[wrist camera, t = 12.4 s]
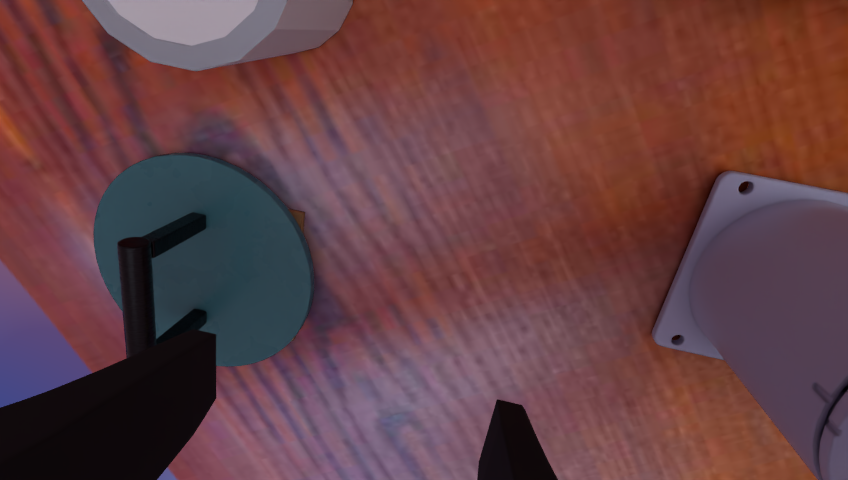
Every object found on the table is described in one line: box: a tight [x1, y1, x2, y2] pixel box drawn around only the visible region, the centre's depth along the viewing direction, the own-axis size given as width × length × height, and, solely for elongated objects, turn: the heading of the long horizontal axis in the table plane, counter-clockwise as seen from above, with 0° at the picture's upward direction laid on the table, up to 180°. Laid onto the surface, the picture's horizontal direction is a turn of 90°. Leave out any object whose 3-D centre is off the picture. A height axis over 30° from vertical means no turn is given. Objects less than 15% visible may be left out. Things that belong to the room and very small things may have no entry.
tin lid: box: [94, 153, 314, 367], centre depth 20 cm, size 11×11×6 cm
